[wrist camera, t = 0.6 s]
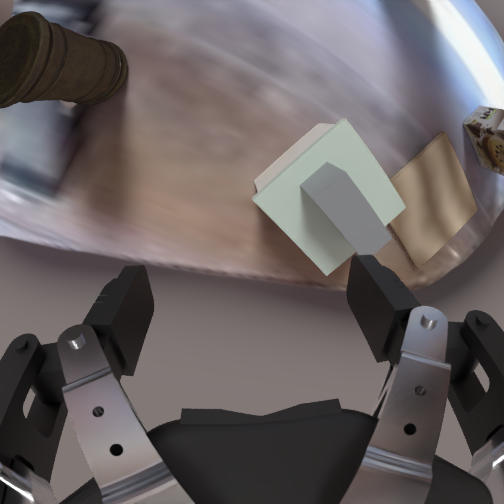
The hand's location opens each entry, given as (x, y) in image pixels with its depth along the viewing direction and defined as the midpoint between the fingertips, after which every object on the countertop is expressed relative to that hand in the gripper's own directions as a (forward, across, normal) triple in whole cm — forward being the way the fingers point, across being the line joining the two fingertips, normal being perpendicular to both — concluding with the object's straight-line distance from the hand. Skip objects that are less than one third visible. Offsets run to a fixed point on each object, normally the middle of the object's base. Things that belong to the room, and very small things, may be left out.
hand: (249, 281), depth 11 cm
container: (+26, +18, -14) cm, 35 cm away
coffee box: (+27, -40, -7) cm, 48 cm away
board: (+26, -29, +5) cm, 39 cm away
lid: (+20, -9, +3) cm, 22 cm away
